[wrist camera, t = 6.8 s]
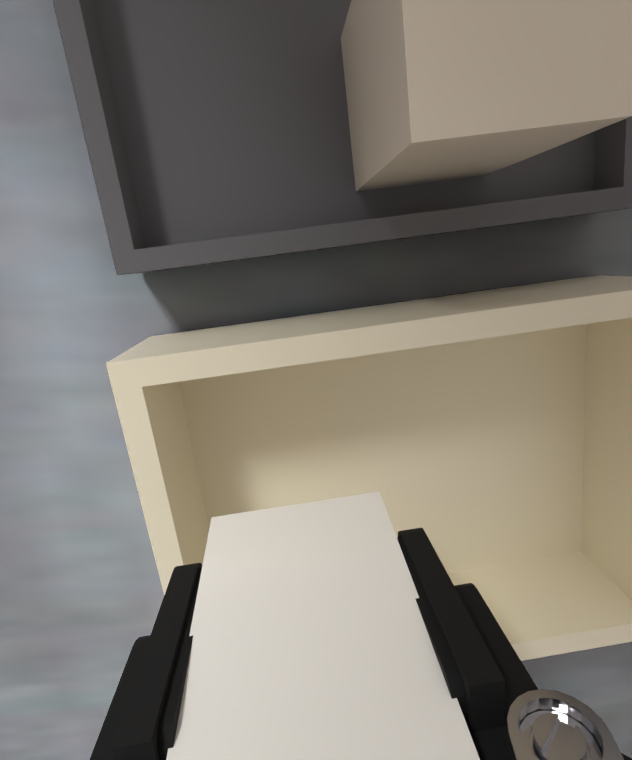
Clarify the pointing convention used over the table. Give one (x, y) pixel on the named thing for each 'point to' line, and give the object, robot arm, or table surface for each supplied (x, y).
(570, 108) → the stone
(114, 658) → the table surface
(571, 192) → the pan
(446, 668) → the robot arm
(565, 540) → the tub
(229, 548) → the stone
